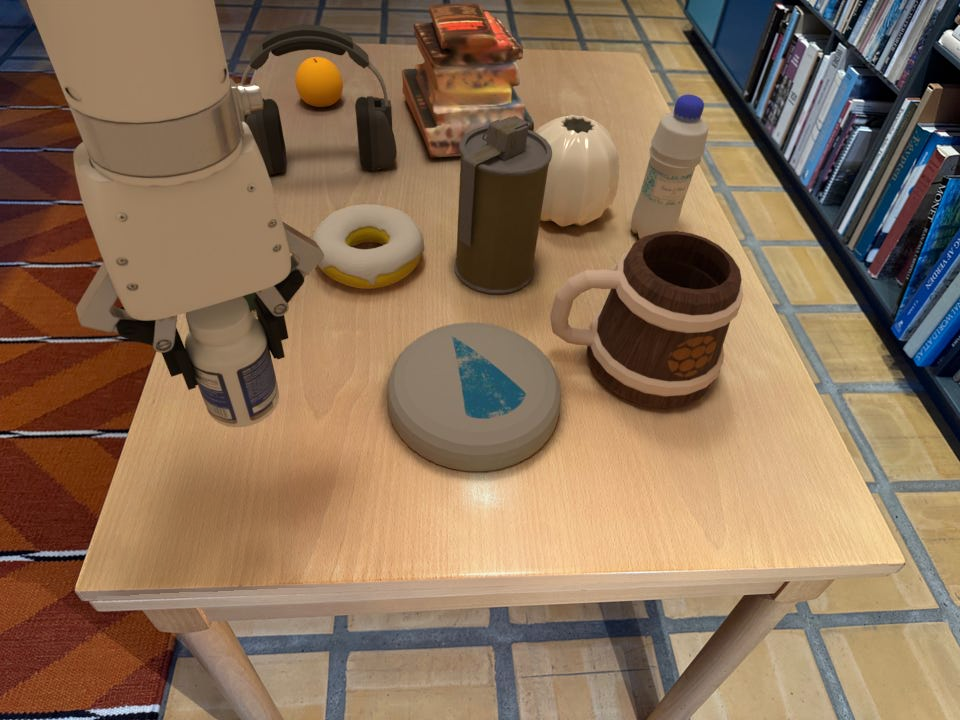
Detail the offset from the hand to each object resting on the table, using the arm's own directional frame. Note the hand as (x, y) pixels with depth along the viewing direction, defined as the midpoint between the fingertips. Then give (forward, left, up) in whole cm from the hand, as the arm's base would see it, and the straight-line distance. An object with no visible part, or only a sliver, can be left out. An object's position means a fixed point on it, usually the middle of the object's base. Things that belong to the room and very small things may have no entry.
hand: (231, 358), depth 46 cm
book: (+19, +72, -19) cm, 77 cm away
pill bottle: (0, 0, -5) cm, 5 cm away
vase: (+33, +48, -19) cm, 61 cm away
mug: (+37, +18, -19) cm, 45 cm away
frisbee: (+19, +12, -19) cm, 29 cm away
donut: (+6, +35, -19) cm, 40 cm away
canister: (+22, +34, -19) cm, 45 cm away
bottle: (+45, +43, -19) cm, 65 cm away
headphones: (-3, +58, -19) cm, 61 cm away
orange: (-6, +78, -19) cm, 81 cm away
